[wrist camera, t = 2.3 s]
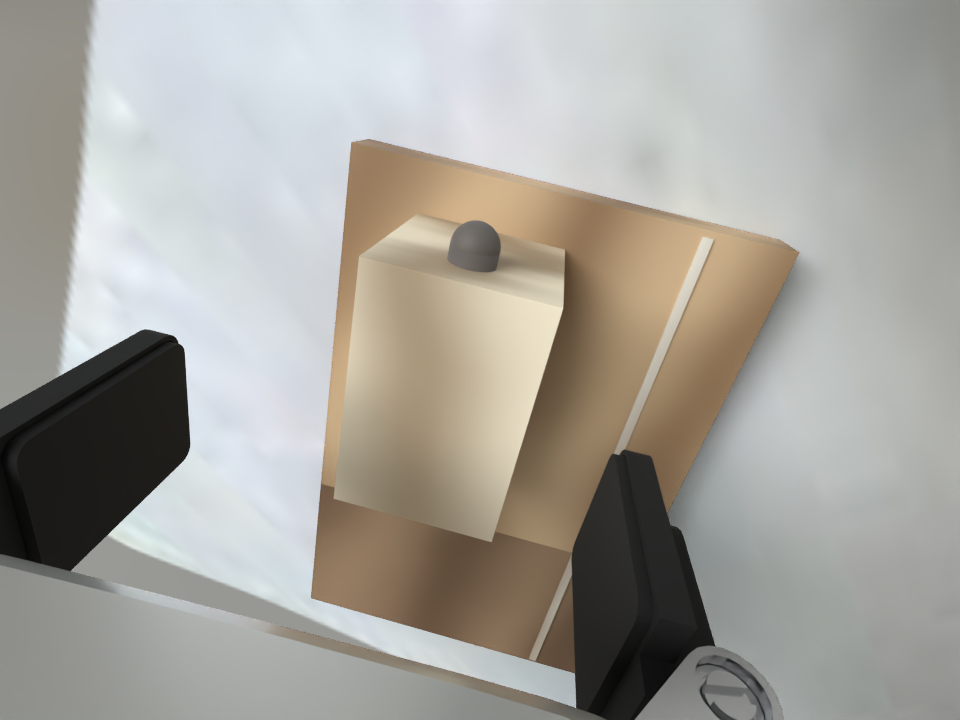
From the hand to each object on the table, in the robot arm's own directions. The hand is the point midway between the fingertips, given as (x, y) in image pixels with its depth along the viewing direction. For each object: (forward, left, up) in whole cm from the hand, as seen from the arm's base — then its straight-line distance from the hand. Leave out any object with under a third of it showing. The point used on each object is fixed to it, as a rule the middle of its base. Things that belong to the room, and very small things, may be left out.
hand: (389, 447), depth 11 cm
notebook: (-3, +5, -8) cm, 10 cm away
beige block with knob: (-1, 0, -7) cm, 7 cm away
